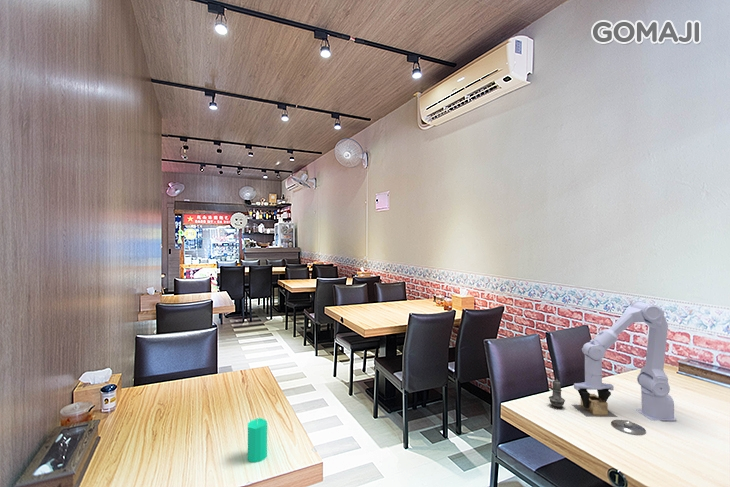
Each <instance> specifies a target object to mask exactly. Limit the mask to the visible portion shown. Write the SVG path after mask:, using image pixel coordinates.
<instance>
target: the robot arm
mask: <svg viewBox="0 0 730 487" xmlns="http://www.w3.org/2000/svg"><path fill="white" fill-rule="evenodd" d="M643 322H644V323H645V324H646V326H648V327H649V328H648V337H647V345H646V355H645V365H644V366H642V367H641V368H640V372H639V373H638V375H637V378H636V381H637V384H638V385H639V386H640V392H641V395H640V396H641V409H635V412H638V413H639V414H641V415H642V416H644V417H646V418H647V419H649V420H650V421H660V422H661V421H662V422H663V421H667V422H668V421H672V422H674V421H675V422H676V421H677V418H675V402H674V399H673V397H672V396H671V395H670V394H669V393H670V391H671V388H670V385H669V378H668V376H667V374H666V372H665V371H664V368H665V357H666V350H667V349H666V348H667V341H668V332H669V331H668V330H669V323H668V322H667V319H666V318H665V311H664V310H663V309H662V308H660V307H659V306H658V305H656V304H651V303H646V302H643V301H639V300H637V301H634V302H632V303H631V305H630V306H629V305H628V306H627V307H626V309H625V312H624V313H623V314H621V315H620V317H619V318H618V319H617V320H616V321H615V322H614V323H613V324H612V325H611V327H610V328H608V329H607V328H606V329H605V328H604V329H603V330H601V329H600V330H599V331H598V334H597V335H596V336H595V337H594V338H593V339H590V340H589V342H586V343H584V344H583V346H582V348H581V351H582V353H583V355H584V381H582V382H577V383H576V382H575V383H573V389H575V390H576V391H577V392H578V394H579V396H580V400H581V399H582V402H583V406H584V407H585V408H586V409H588V407H589V396H590V394H591V393H590V392H589V390H590V391H591V390H596V392H597V396H598V397H600V398H601V399H603V400H604V401H606V402H608V399H609V398H610V396H611V395H612V391H614V390H615V388H614V387H615V386H614V385H613V384H611V383H606V382H603V365H602V363H603V361H602V360H603V359H604V358H605V357H606V352H607V350H608V349H609V348H611V347H612V346H613V345H614V344H615V343H616V342H617V341H618V335H620V334H621V333H622V332H623V331H625V330H626V329H627V328H628V327H630V326H631V325H632V324H634V323H643Z"/></svg>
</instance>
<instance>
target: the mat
mask: <svg viewBox="0 0 730 487" xmlns="http://www.w3.org/2000/svg"><path fill="white" fill-rule="evenodd" d="M571 406H572V407H573V408H575V410H577V411H579V412H580V413H581V414H582V415H584V416H585V417H589V418H590V417H591V418H593V417H594V418H618V416H617V415H616V414H614V413H613V412H611V411H610V410H608V416H603V415H592V414H591V413H589V412H588V411H587V410H585V409H584V408H583V407H581V404H571Z"/></svg>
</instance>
